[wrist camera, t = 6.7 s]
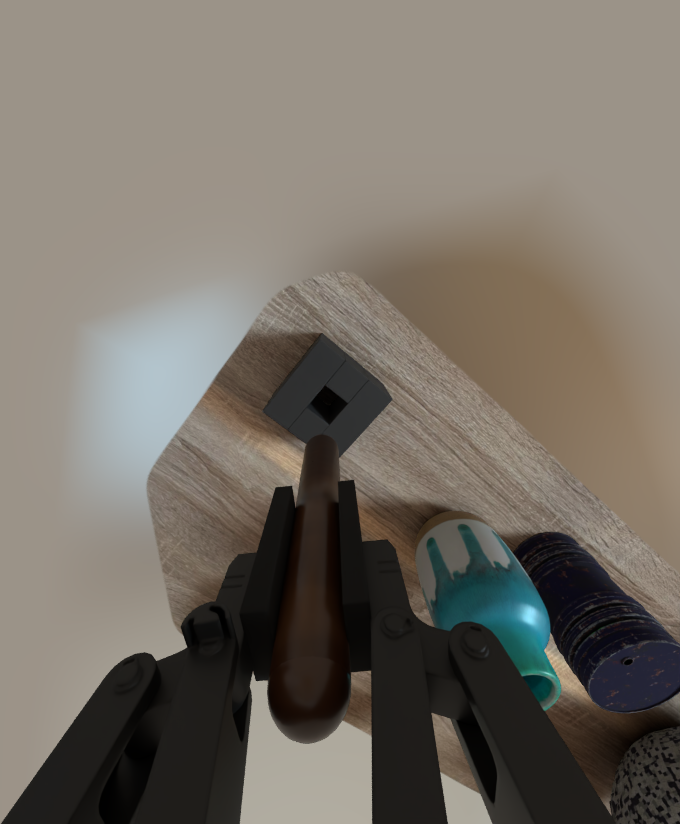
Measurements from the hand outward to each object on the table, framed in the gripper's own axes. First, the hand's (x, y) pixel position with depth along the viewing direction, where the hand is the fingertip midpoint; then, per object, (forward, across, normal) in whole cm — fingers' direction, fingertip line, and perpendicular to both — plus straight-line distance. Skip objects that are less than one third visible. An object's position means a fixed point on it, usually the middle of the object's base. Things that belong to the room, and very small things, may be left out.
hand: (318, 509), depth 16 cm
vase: (+23, +14, -21) cm, 34 cm away
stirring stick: (+7, 0, 0) cm, 7 cm away
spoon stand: (+23, 0, 0) cm, 23 cm away
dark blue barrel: (+23, +27, -27) cm, 45 cm away
